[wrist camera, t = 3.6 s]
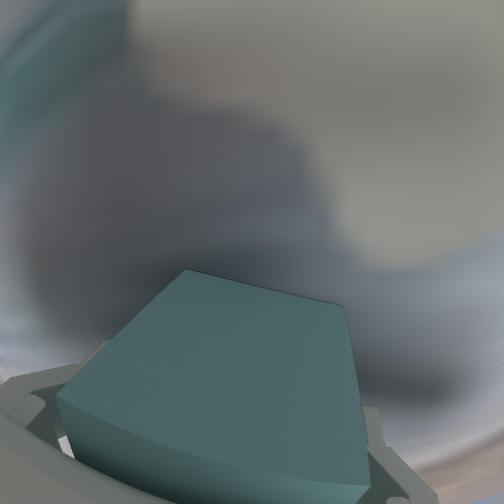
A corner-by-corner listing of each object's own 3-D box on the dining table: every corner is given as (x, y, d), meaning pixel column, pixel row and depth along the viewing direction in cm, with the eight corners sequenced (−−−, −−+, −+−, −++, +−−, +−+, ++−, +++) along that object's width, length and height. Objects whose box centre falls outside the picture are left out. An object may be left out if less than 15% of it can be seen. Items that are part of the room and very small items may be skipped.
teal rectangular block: (174, 386, 12) (99, 514, 6) (185, 268, 10) (55, 395, 4) (300, 418, 11) (283, 568, 5) (343, 306, 10) (371, 485, 4)
